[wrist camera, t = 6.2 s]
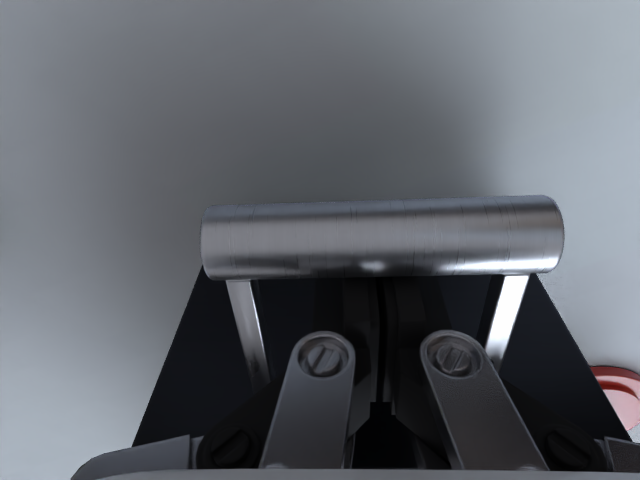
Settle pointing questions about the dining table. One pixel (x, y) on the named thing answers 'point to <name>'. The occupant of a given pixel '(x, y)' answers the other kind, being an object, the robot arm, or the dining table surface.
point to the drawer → (372, 261)
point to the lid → (621, 392)
